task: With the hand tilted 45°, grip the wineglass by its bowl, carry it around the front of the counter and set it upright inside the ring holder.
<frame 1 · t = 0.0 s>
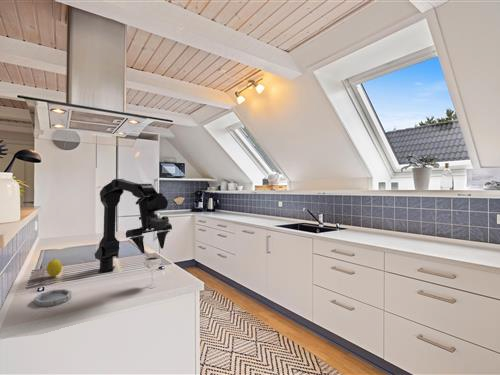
hand: (153, 250, 116), 15 cm above the counter, tool pointing down, fingers open, 9 cm apart
holder: (53, 299, 104), on the counter
wineglass: (152, 286, 119), on the counter
lemon: (54, 277, 125), on the counter
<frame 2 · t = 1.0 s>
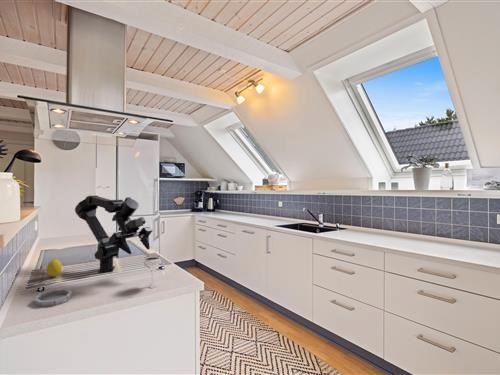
hand: (140, 251, 122), 13 cm above the counter, tool tilted 45°, fingers open, 9 cm apart
nothing on the counter moved.
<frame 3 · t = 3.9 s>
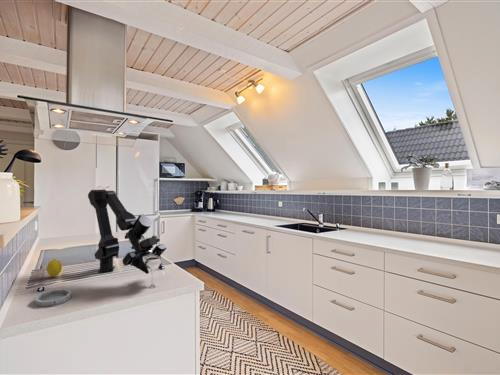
hand: (154, 270, 118), 7 cm above the counter, tool tilted 45°, fingers closed on wineglass, 6 cm apart
wineglass: (152, 286, 119), on the counter, touching gripper
everything else where it was.
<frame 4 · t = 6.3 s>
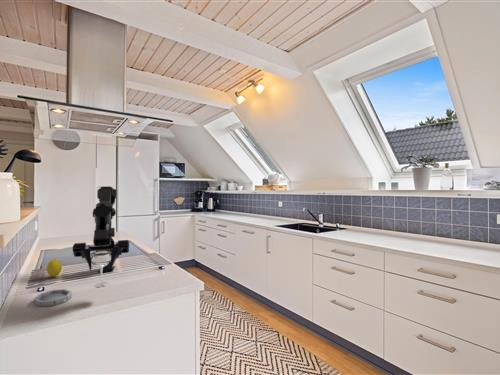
hand: (101, 268, 103), 12 cm above the counter, tool tilted 45°, fingers closed on wineglass, 6 cm apart
wineglass: (101, 285, 104), point 5 cm above the counter, touching gripper
everything else where it was.
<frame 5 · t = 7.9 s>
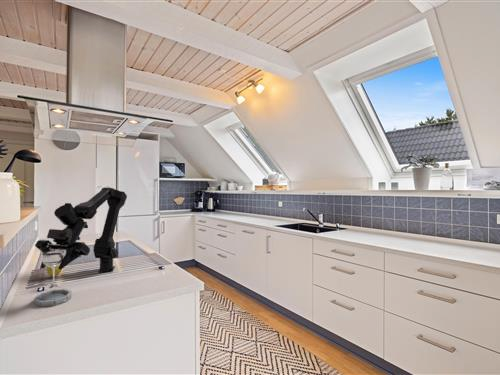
hand: (50, 268, 102), 12 cm above the counter, tool tilted 45°, fingers closed on wineglass, 6 cm apart
wineglass: (53, 285, 104), point 5 cm above the counter, touching gripper
everything else where it was.
when the fingers open (8 cm above the counter, at t = 9.2 s): wineglass stays where it is, resting on holder.
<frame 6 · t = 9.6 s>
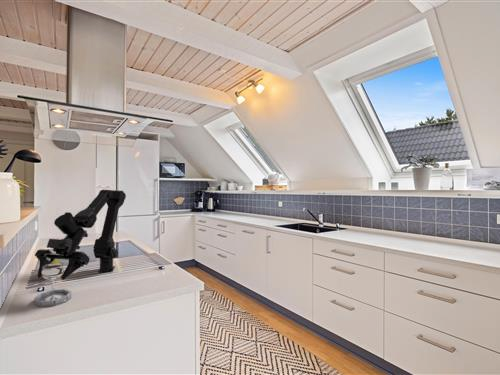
hand: (50, 278, 102), 9 cm above the counter, tool tilted 45°, fingers open, 9 cm apart
wineglass: (53, 298, 104), point 1 cm above the counter, touching holder
everything else where it was.
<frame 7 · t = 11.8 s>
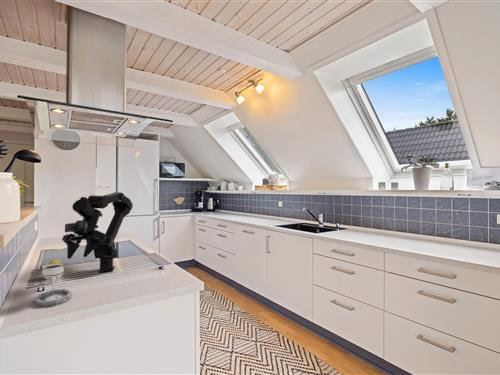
hand: (76, 257, 113), 13 cm above the counter, tool tilted 35°, fingers open, 9 cm apart
nothing on the counter moved.
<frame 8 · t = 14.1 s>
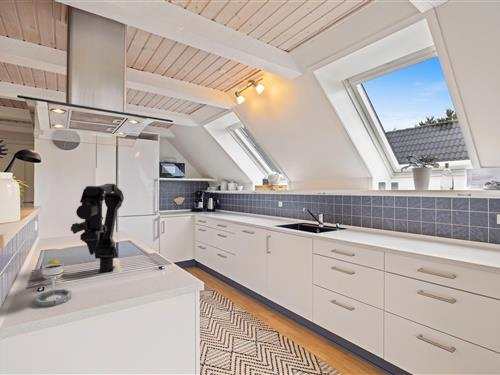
hand: (94, 251, 121), 13 cm above the counter, tool pointing down, fingers open, 9 cm apart
nothing on the counter moved.
at the end: wineglass 0.1 cm off-centre on the holder, point 0.6 cm above the holder's base; wineglass tilted 0°; the gripper is holding nothing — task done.
